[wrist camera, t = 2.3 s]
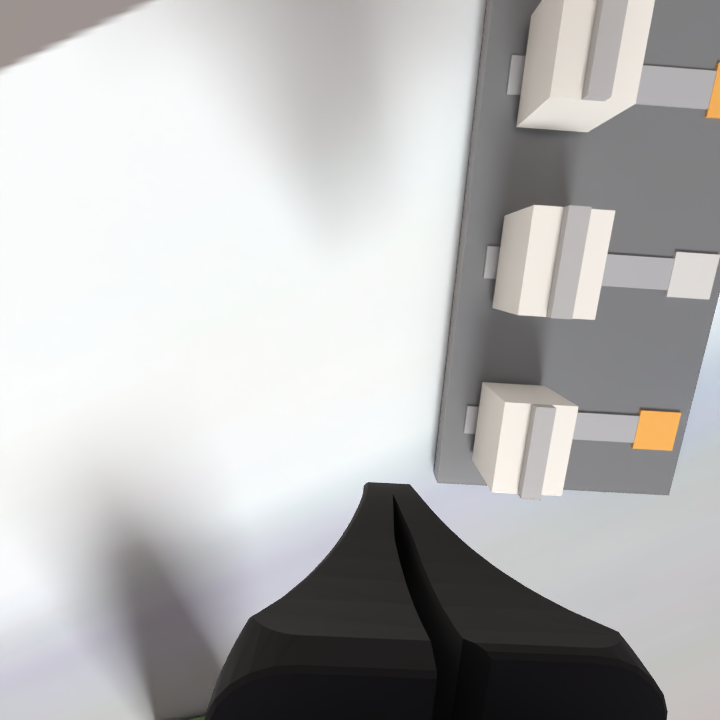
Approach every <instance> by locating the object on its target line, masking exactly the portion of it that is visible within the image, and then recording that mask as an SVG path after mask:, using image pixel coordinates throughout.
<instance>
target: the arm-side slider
mask: <svg viewBox="0 0 720 720" xmlns="http://www.w3.org/2000/svg"><path fill="white" fill-rule="evenodd" d="M578 407H579V406H577V405H575V404H574V403H572V402H571V401H569V400H567V399H566V398H564V397H562V396H561V395H559V394H557V393H556V392H554V391H553V390H551V389H549V388H548V387H546V386H540V385H523V384H506V383H489V382H482V389H481V396H480V404H479V411H478V419H477V426H476V434H475V441H474V449H473V456H472V461H473V462H474V464H475V466H476V467H477V469H478V471H479V472H480V474H481V476H482V477H483V479H484V480H485V482H486V484H487V485H488V487H489V489H490V490H491V492H494V493H513V494H518V495H519V496H520V498H521V499H533V500H540V499H541V495H551V496H562V492H563V487H564V482H565V476H566V471H567V466H568V460H569V455H570V450H571V445H572V439H573V434H574V429H575V423H576V418H577V413H578Z"/></svg>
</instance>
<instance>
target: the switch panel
mask: <svg viewBox="0 0 720 720" xmlns="http://www.w3.org/2000/svg"><path fill="white" fill-rule="evenodd" d="M541 1H542V0H487V4H486V13H485V21H484V30H483V39H482V48H481V57H480V66H479V75H478V84H477V93H476V102H475V111H474V120H473V129H472V137H471V146H470V155H469V164H468V173H467V182H466V191H465V200H464V209H463V218H462V227H461V236H460V244H459V253H458V262H457V271H456V280H455V289H454V298H453V307H452V316H451V325H450V334H449V343H448V352H447V360H446V369H445V378H444V387H443V396H442V405H441V414H440V423H439V432H438V441H437V450H436V459H435V467H434V475H435V478H436V480H437V483H448V484H466V485H485V486H488V485H487V484H486V482H485V480H484V479H483V477H482V476H481V474H480V472H479V471H478V469H477V467H476V466H475V464H474V462H473V461H472V456H473V449H474V441H475V434H476V426H477V419H478V411H479V404H480V396H481V389H482V382H489V383H506V384H523V385H540V386H546V387H548V388H549V389H551V390H553V391H554V392H556V393H557V394H559V395H561V396H562V397H564V398H566V399H567V400H569V401H571V402H572V403H574V404H575V405H577V406H579V407H578V413H577V418H576V423H575V429H574V434H573V439H572V445H571V450H570V455H569V460H568V466H567V471H566V476H565V482H564V487H563V490H579V491H598V492H617V493H635V494H654V495H669V492H670V488H671V484H672V480H673V476H674V472H675V468H676V465H677V461H678V457H679V453H680V449H681V445H682V441H683V437H684V433H685V429H686V425H687V421H688V417H689V413H690V409H691V405H692V401H693V397H694V393H695V389H696V385H697V381H698V377H699V373H700V369H701V365H702V361H703V357H704V353H705V349H706V345H707V341H708V337H709V333H710V329H711V325H712V321H713V317H714V313H715V309H716V305H717V301H718V297H719V293H720V0H655V3H654V9H653V14H652V19H651V25H650V30H649V35H648V40H647V46H646V51H645V56H644V62H643V67H642V72H641V78H640V83H639V88H638V94H637V99H636V104H634V105H633V106H631V107H629V108H628V109H626V110H624V111H623V112H621V113H619V114H618V115H616V116H614V117H613V118H611V119H609V120H607V121H606V122H604V123H602V124H601V125H599V126H597V127H596V128H594V129H592V130H591V131H589V132H576V131H562V130H549V129H535V128H522V127H516V126H517V118H518V111H519V103H520V96H521V88H522V81H523V73H524V66H525V58H526V51H527V43H528V36H529V28H530V20H531V15H532V14H533V12H534V11H535V9H536V8H537V7H538V5H539V4H540V2H541ZM532 205H543V206H557V207H566V206H569V205H573V206H587V207H592V209H600V210H615V216H614V221H613V227H612V232H611V237H610V242H609V248H608V253H607V258H606V264H605V269H604V274H603V280H602V285H601V290H600V296H599V301H598V306H597V312H596V317H595V320H586V319H556V318H548V317H539V316H523V315H515V314H512V313H508V312H505V311H501V310H498V309H494V308H492V306H493V299H494V291H495V284H496V276H497V269H498V261H499V253H500V246H501V238H502V231H503V223H504V216H505V215H508V214H510V213H513V212H516V211H519V210H521V209H524V208H527V207H530V206H532Z"/></svg>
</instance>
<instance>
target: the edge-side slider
mask: <svg viewBox="0 0 720 720" xmlns="http://www.w3.org/2000/svg"><path fill="white" fill-rule="evenodd" d="M654 3H655V0H542V1H541V2H540V4H539V5H538V7H537V8H536V9H535V11H534V12H533V14H532V15H531V20H530V28H529V36H528V43H527V51H526V58H525V66H524V73H523V81H522V88H521V96H520V103H519V111H518V118H517V126H516V127H522V128H535V129H549V130H562V131H576V132H589V131H591V130H592V129H594V128H596V127H597V126H599V125H601V124H602V123H604V122H606V121H607V120H609V119H611V118H613V117H614V116H616V115H618V114H619V113H621V112H623V111H624V110H626V109H628V108H629V107H631V106H633V105H634V104H636V99H637V94H638V88H639V83H640V78H641V72H642V67H643V62H644V56H645V51H646V46H647V40H648V35H649V30H650V25H651V19H652V14H653V9H654Z"/></svg>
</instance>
